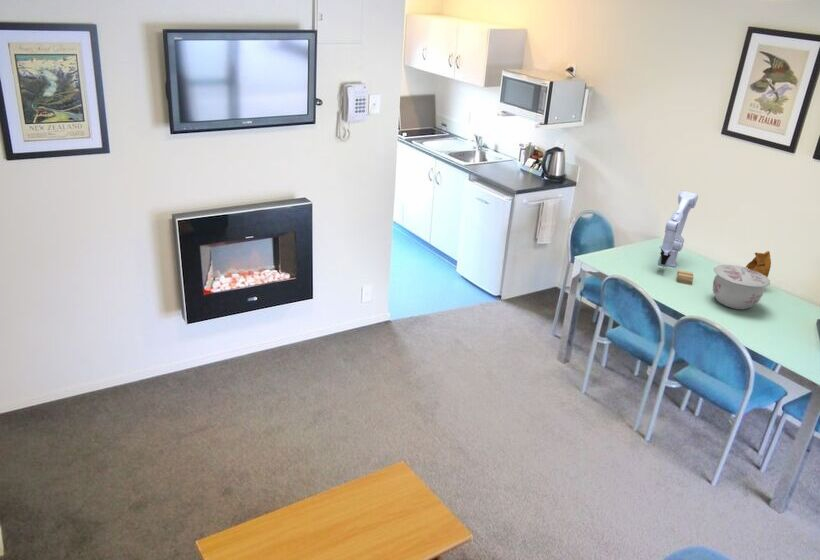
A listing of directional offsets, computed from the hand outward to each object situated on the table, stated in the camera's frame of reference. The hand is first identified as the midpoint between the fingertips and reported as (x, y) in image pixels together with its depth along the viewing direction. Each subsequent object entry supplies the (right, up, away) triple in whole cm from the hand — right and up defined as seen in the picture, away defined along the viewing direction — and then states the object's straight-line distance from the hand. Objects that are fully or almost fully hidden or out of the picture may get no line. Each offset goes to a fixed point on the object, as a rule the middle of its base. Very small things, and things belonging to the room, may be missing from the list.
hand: (663, 262), depth 386 cm
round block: (0, -1, +1) cm, 2 cm away
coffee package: (+46, -15, -9) cm, 50 cm away
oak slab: (+9, -9, -8) cm, 15 cm away
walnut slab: (+9, -11, -7) cm, 16 cm away
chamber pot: (+26, -23, -30) cm, 46 cm away
